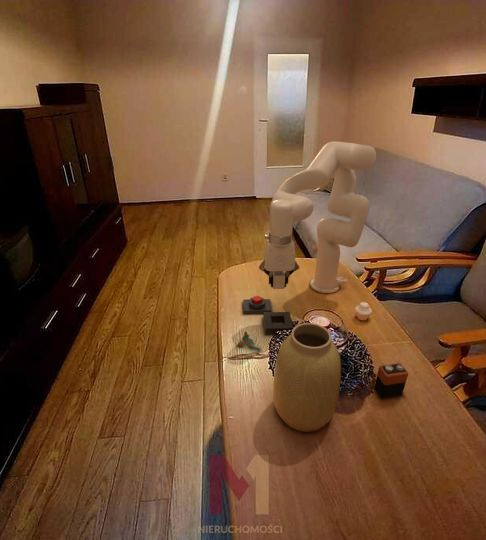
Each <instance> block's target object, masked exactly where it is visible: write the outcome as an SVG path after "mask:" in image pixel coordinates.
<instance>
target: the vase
mask: <svg viewBox="0 0 486 540" xmlns="http://www.w3.org/2000/svg"><path fill="white" fill-rule="evenodd" d="M332 337H333V336H332V334H331V332H330V331H329V329H328V328H326V327H325V326H323V325H320V324H317V323H314V322H304V323H303V322H302V323H299V324H297V325H296V326H293V330H292V332H291V335H288V336H287V337H285V338H284V340H283V341H282V343H281V345H280V347H279V348H278V352H277V355H276V360H275V365H274V371H273V372H274V373H273V382H272V399H273V405H274V409H275V411H276V412H277V414H278V416H279V417H280V418H281V420H282V421H283V422H284V424H286V425H287V426H288V427H290V428H292V429H293V430H296V431H299V432H303V433H304V432H306V433H309V432H314V431H318V430H320V429H321V428H323V427H324V426H326V425H327V424H328V423H330V421H331V419H333V417H334V415H335V412H336V411H337V406H338V403H339V398H340V397H339V396H340V389H341V384H342V383H341V381H342V361H341V360H342V359H341V355H340V352H339V349H338V347H337V345H336V344H335V342H334V341H333V339H332Z"/></svg>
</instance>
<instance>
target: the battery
mask: <svg viewBox="0 0 486 540" xmlns="http://www.w3.org/2000/svg"><path fill="white" fill-rule="evenodd" d="M408 376H409V372H408V370H407V369H406V367H404V365H403V364H402V363H401V362H397V363H391V364H383V365H379V366H378V369H377V374H376V379H375V382H374V387H373V389H374V390H375V392H376V393H377V394H378V397H380V399H388V398H393V397H401V396H402V395H403V393H404V390H405V386H406V383H407V380H408Z"/></svg>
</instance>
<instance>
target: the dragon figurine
mask: <svg viewBox="0 0 486 540" xmlns="http://www.w3.org/2000/svg"><path fill="white" fill-rule="evenodd" d="M245 344H246V345H247V346H248V347H250V348H251V349H254V350H257V351H256V353H257V354H258V355H259V351H260V348H259V347H256V346H255V345H256V343H255V342H254V340H253V339H252V338H251V337H250V334H248V332H247V330H245V331H244V332H243V336H242V337H241V340H239V341H238V342H237V344H236V346H237V347H243V346H245Z"/></svg>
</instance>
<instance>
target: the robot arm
mask: <svg viewBox="0 0 486 540" xmlns="http://www.w3.org/2000/svg"><path fill="white" fill-rule="evenodd" d="M376 160H377V150H376V149H375V147H373V146H372V145H364V144H359V143H355V142H347V141H335V140H334V141H329V142H327V143H326V144H324V145H323V146H322V148H321V149H320V151H319V152H318V153H317V155H316V156H315V157H314V159H313V160H312V162H310V164H309V166H308V167H307V168H306V169H304V170H302V171H299V172H298V173H296V174H294V175H292V176H290V177H288V178H287V179H285V180H284V181H283V182H282V183H281V184H280V186H279V187H278V189H277V190H276V191H275V193H274V195H273V197H272V199H271V202H270V206H269V227H268V228H269V229H268V233H267V234H264V239H265V240H267V241H266V244H265V250H264V259H263V260H262V261H261V263H260V264H259V266H258V270H260V271H261V272H262V273H264V274H266V275H267V276H268V285H270V288H273V271H284V273H285V288H287V285H288V284H289V278H290V276H291V275H292V274H294V272H296V271H298V270H299V269H300V265H299V263H298V262H297V260H296V247H295V246H296V245H295V242H294V240H293V227H294V222H299V221H303V220H306V219H308V218H309V217H310V216H311V215H312V214H313V212H314V209H315V208H314V207H315V206H314V202H313V200H311V199H310V198H309V197H306V196H303V195H298V193H300V192H303V191H307V190H313V189H317V188H321V187H322V188H323V187H324V186H326V185H327V184H328V183H329V181H330V180H331V178H332V177H333V176H334V180H333V184H332V188H331V192H330V195H329V198H328V203H327V211H328V212H329V213H330V214H332V215H334V216H338V217H342V218H345V219H350V220H349V221H346V220H343V219H339V218H335V217H322V219H320V220H319V221H318V223H317V226H316V236H317V248H316V249H317V250H316V258H315V267H314V268H315V269H314V276H313V277H314V278H312V279H311V280H310V283H309V285H310V288H311V289H312V290H314V291H316V292H318V293H322V294H333V293H336V292H337V291H339V289H340V285H341V284H345V285H348V279H347V278H345V279H344V277H343V276H338V272H339V265H340V257H341V247H340V246H343V247H346V248H347V247H348V248H354V247H356V246H357V245H358V243H359V242H360V239H361V237H362V233H363V231H364V226H365V224H366V220H367V218H368V214H369V211H370V210H369V209H370V201H369V198H368V197H367V196H364V195H362V194H357V193H355V189H356V186H357V181H358V180H357V175H356V173H355V171H369V170H370V169H371V168H372V167H374V165H375V163H376Z"/></svg>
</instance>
